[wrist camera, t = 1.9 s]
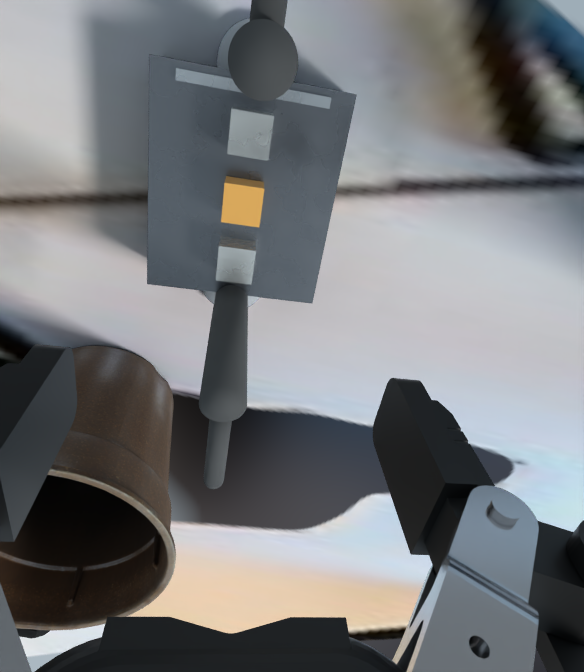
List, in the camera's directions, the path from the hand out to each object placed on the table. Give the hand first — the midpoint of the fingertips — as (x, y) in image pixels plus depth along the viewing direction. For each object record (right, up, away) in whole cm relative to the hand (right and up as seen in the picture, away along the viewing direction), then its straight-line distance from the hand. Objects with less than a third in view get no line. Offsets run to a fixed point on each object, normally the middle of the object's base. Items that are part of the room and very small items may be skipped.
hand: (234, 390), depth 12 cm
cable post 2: (-4, +4, +26) cm, 27 cm away
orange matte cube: (-2, +10, +18) cm, 21 cm away
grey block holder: (-2, +13, +21) cm, 25 cm away
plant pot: (-15, -4, +30) cm, 34 cm away
